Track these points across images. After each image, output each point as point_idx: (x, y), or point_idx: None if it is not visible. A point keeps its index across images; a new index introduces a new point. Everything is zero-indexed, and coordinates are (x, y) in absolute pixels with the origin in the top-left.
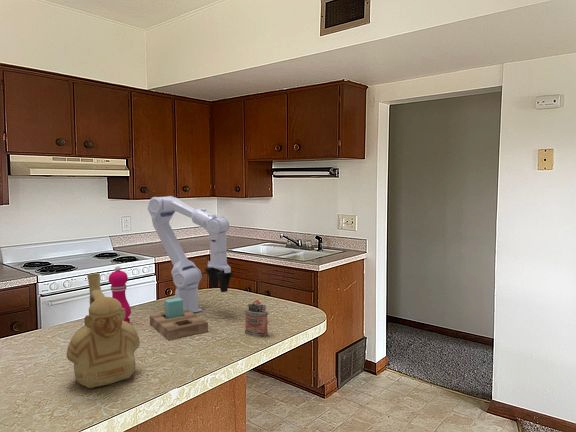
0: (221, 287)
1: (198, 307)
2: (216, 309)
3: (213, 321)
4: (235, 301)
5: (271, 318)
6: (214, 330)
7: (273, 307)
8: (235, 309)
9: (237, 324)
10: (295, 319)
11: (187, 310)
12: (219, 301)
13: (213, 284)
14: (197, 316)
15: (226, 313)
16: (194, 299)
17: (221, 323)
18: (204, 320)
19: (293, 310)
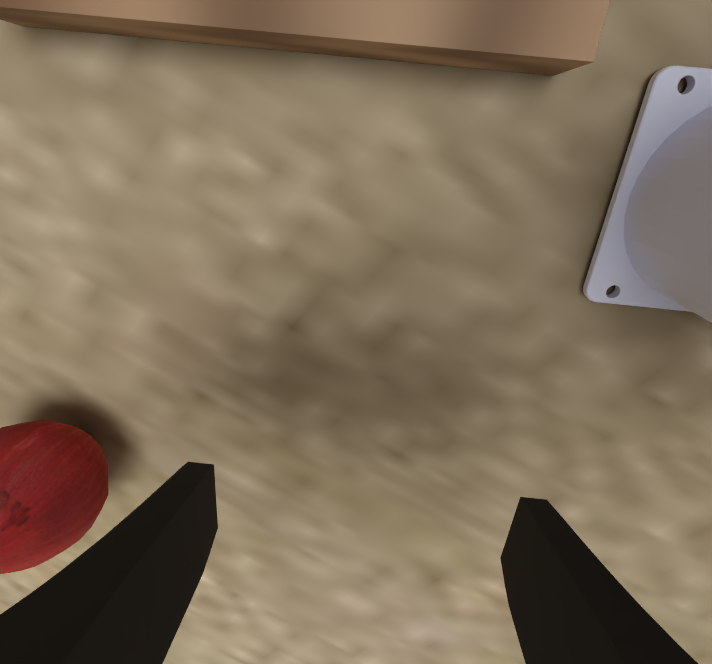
0: (133, 515)
1: (678, 306)
2: (529, 401)
3: (265, 222)
4: None
5: (112, 526)
6: (33, 98)
7: (295, 631)
8: (420, 487)
9: (97, 324)
10: (37, 587)
11: (522, 35)
12: (682, 513)
13: (532, 556)
14: (215, 16)
15: (383, 401)
16: (700, 255)
17: (180, 246)
18: (28, 7)
19: (184, 654)
